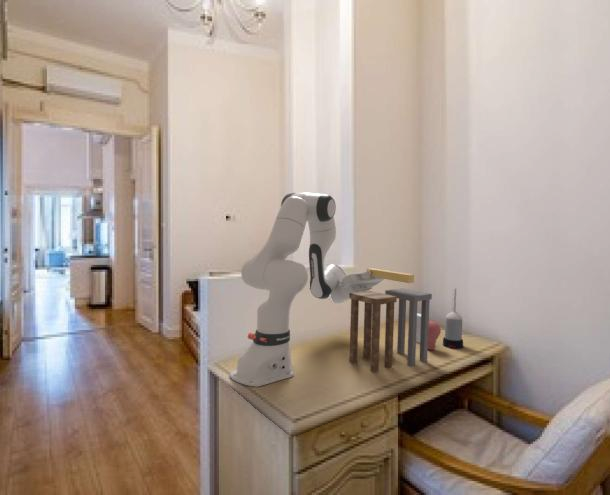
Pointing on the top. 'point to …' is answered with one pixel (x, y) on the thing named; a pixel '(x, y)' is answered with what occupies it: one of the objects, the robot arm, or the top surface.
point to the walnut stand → (373, 319)
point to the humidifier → (453, 329)
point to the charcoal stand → (412, 322)
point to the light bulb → (433, 334)
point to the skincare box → (418, 328)
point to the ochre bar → (392, 275)
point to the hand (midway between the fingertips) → (374, 271)
